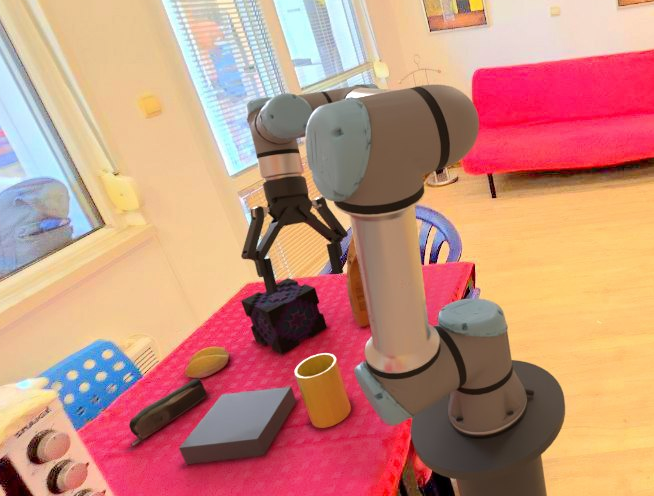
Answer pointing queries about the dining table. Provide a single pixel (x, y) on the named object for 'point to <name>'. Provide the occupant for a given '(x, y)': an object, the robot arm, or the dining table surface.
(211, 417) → the grey block
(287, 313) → the energy cube
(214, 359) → the bread roll
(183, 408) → the dark pencil case
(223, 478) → the dining table surface
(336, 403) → the yellow cup
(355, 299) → the coffee package
